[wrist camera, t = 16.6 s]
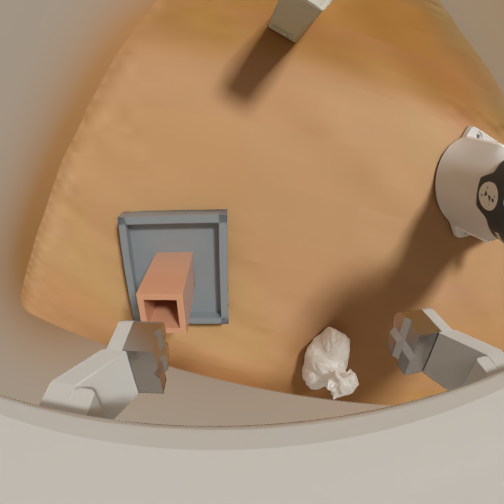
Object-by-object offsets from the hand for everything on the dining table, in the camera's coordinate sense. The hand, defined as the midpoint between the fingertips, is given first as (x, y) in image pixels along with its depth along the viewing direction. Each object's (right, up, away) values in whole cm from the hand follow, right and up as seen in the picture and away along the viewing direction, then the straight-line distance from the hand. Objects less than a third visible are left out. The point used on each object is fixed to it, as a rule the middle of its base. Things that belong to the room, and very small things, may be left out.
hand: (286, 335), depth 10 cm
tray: (-12, +1, +33) cm, 35 cm away
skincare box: (+4, +32, +21) cm, 39 cm away
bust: (+11, -14, +41) cm, 44 cm away
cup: (-12, 0, +32) cm, 34 cm away
